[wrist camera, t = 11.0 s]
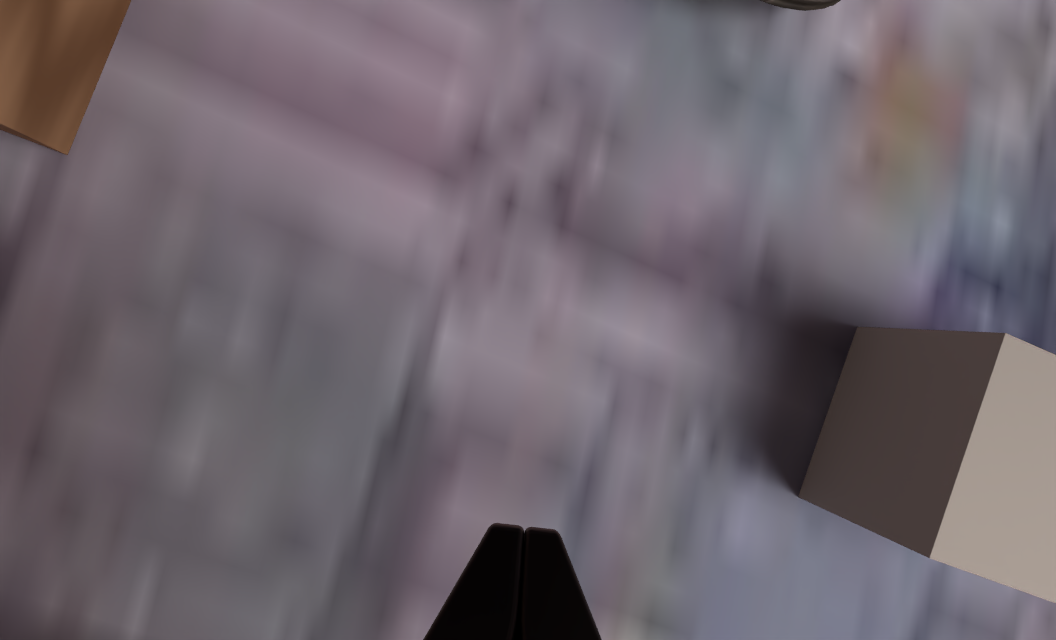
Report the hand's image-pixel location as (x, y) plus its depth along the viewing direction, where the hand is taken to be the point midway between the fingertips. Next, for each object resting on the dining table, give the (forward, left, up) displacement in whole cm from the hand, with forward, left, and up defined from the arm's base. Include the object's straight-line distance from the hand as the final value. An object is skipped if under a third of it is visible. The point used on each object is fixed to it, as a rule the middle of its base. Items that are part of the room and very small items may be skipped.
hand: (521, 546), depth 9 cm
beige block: (-10, -12, -13) cm, 20 cm away
